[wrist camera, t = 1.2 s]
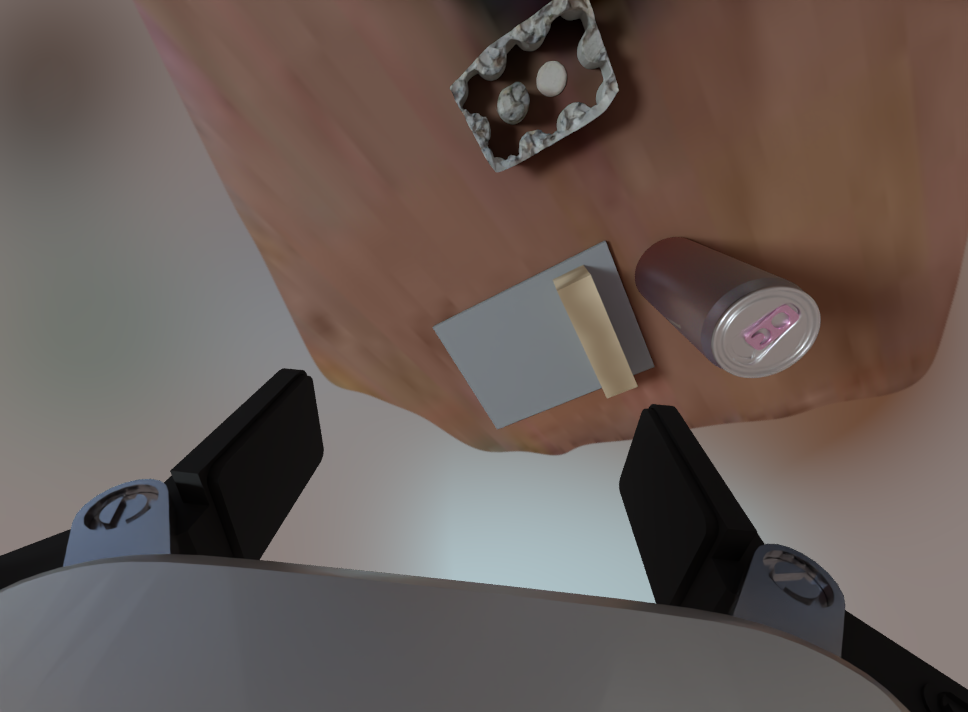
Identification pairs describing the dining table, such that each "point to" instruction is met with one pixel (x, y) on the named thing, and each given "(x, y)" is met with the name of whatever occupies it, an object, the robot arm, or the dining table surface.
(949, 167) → the dining table surface
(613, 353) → the block
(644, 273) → the beverage can
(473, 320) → the mat
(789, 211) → the dining table surface
